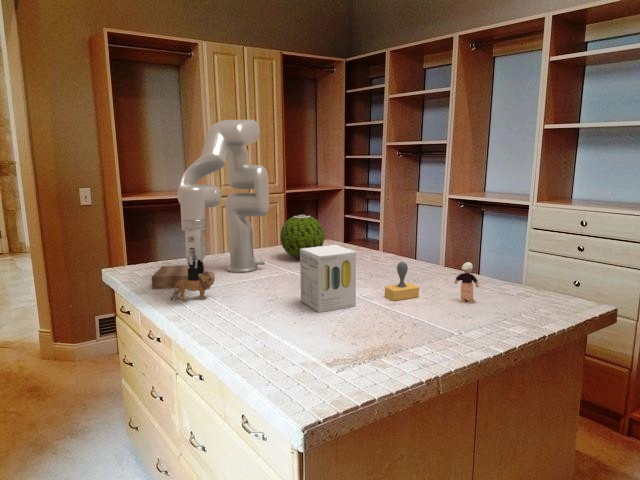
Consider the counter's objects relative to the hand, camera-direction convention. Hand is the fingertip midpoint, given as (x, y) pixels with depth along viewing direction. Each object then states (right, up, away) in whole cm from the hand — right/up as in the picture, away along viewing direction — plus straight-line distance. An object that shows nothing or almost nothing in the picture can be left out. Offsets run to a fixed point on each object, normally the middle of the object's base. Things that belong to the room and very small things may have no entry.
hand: (196, 276), depth 153 cm
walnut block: (-12, -4, +22) cm, 25 cm away
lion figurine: (-1, -8, +2) cm, 8 cm away
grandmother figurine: (+87, -8, -4) cm, 88 cm away
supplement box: (+43, -8, -5) cm, 44 cm away
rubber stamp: (+68, -7, +1) cm, 68 cm away
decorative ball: (+33, +3, +59) cm, 68 cm away
